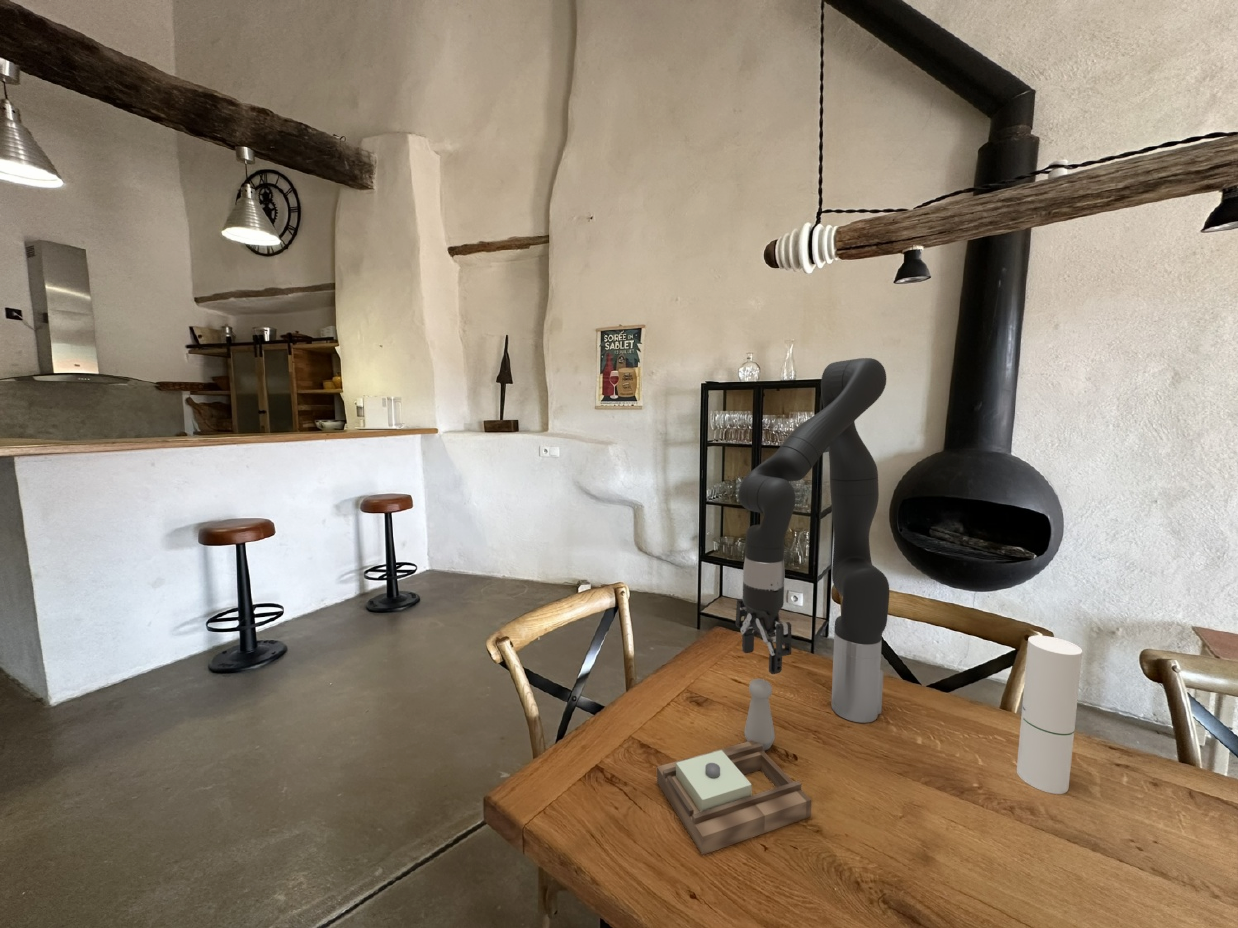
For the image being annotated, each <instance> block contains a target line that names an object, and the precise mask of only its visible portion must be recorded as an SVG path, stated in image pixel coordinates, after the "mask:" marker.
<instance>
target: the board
mask: <svg viewBox="0 0 1238 928" xmlns="http://www.w3.org/2000/svg"><path fill="white" fill-rule="evenodd" d="M720 750H722V751H723V752H724V753H725V755H726V756H727V757H728V758H729V759H730V760H731V761H732V763H733V764H734V765H735V766H736V767H737V768H738V769H739V771H740V772H741V773H742V774H743V775H744V776H746V775H749V774H751V773H755V772H757V771H758V772H759V771H761V772H762V773H763V774H764V775H765V776H766V777H767V778H768V779H769V780H770V781H771V782H772V783H773V785H774V786H775V788H774V787H773V788H770V789H768V790H765V791H762V792H759V793H755V794H751V796H749V797H746V798H743V799H739V800H736V801H733V802H730V803H727V804H724V805H721V806H718V807H715V808H712V809H708V810H705V811H702V812H700V811H699V809H698V808H697V806H696V805H695V803H694V802H693V800H692V799H691V797H690V796H689V794H688V793H687V792H686V790H685V789H684V787H683V786H682V784H681V783H680V781H679V780H678V778H677V777H676V763H677V762H680V761H684V760H688V759H691V758H695V757H698V756H702V755H706V754H709V753H713V752H716V751H720ZM656 784H657V785H658V786H659V788H660V790H661V792H662V793H663V795H664V796H665V798H666V799H667V801H668V803H669V804H670V806H671V808H673V810H674V812H675V813H676V815H677V817H678V819H679V820H680V822H681V823H682V826H684V828H685V831H687V833H688V835H689V837H690V838H691V839H692V841H693V843H694V844H695V846H696V847H697V849H698V850H699V852H700V854H701V855H702V856H703V855H706V854H707V855H708V854H710V853H712V852H715V851H717V850H718V851H719V850H721V849H724V848H726V847H729V846H732V845H735V844H737V843H741V842H743V841H747V840H749V839H751V838H754V837H757V836H760V835H763V834H767V833H768V832H772V831H774V830H777V829H780V828H783V827H786V826H788V825H791V824H795V823H797V822H799V821H803V820H805V819H808V818H811V816H812V798H810V797H809V795H807V793H806V792H805V791H803V790H802V785H803V784H802V782H800V780H796V781H794V780H793V779H792V778H791V777H790V776H789V775H788V774H787V773H785V771H784V770H783V769H782V768H781V767H780V766H779V765H778V764H777V763H776V762H775V761H774V760H773V759H772V758H771V757H770V756H769V755H768V754H767V753H766V751H763V745H762V744H761V743H758V744H756V743H755V742H754V741H753V740H751V741H748V742H747V741H745V742H741V743H738V744H734V745H733V744H732V745H730V746H727V747H723V748H719V749H716V750H712V751H709V752H705V753H702V754H698V755H694V756H690V757H687V758H683V759H680V760H677V761H672V762H669V763H665V764H662V765H658V766H656Z"/></svg>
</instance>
